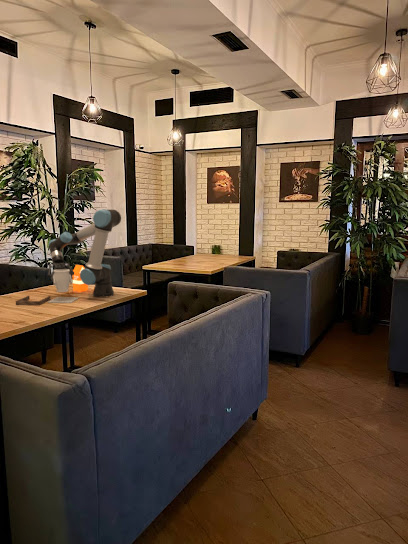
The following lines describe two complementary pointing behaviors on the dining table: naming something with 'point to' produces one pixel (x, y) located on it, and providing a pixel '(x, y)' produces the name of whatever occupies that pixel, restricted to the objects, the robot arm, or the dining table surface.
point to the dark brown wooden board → (25, 302)
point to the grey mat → (63, 300)
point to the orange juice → (78, 280)
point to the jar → (62, 280)
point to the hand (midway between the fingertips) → (63, 283)
